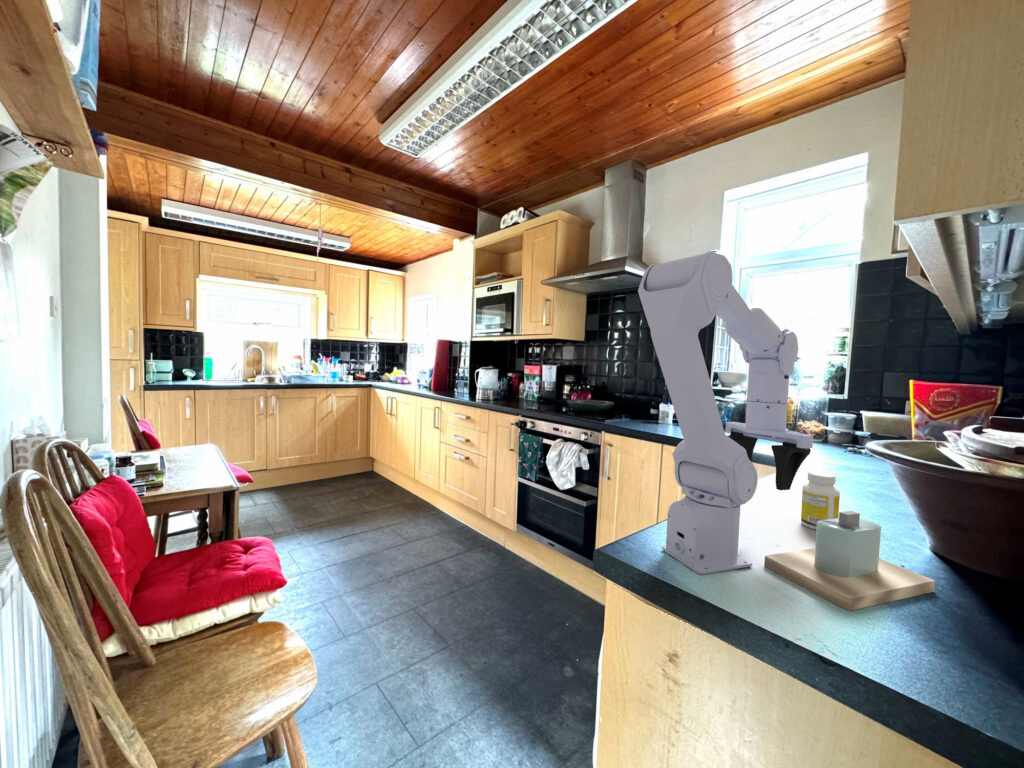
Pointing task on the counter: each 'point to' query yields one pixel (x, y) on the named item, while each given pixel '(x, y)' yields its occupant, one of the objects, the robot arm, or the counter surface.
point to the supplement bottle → (819, 499)
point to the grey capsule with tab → (847, 545)
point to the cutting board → (850, 581)
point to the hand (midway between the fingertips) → (761, 482)
